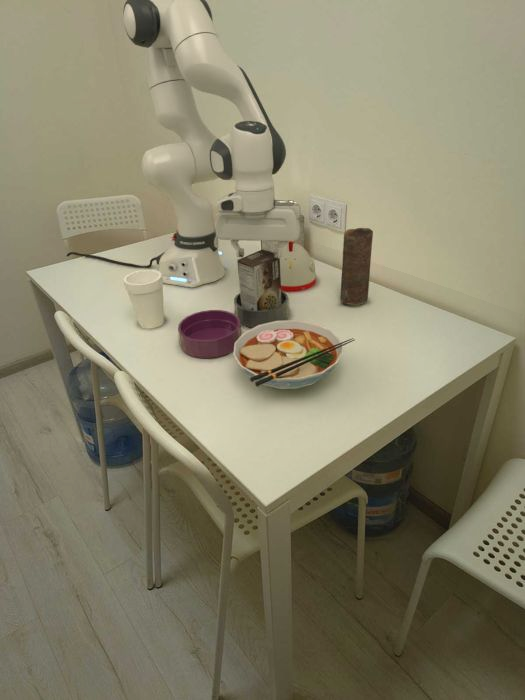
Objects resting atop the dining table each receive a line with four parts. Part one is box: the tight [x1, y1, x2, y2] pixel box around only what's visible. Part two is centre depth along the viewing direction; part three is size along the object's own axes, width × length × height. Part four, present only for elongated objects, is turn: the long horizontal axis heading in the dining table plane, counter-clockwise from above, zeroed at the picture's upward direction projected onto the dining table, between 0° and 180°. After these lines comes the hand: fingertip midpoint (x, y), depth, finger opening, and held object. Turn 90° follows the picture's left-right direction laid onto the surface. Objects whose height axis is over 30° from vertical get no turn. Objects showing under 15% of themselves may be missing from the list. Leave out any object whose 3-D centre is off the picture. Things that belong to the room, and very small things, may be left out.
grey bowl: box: [233, 290, 290, 329], centre depth 125 cm, size 14×14×5 cm
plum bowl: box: [177, 309, 243, 359], centre depth 115 cm, size 15×15×5 cm
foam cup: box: [122, 269, 165, 330], centre depth 123 cm, size 10×9×13 cm
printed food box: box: [237, 248, 282, 311], centre depth 122 cm, size 9×6×16 cm
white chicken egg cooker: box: [280, 241, 317, 293], centre depth 139 cm, size 14×14×15 cm
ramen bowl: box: [232, 319, 356, 390], centre depth 101 cm, size 25×23×8 cm
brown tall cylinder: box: [339, 227, 374, 306], centre depth 125 cm, size 8×7×20 cm
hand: (259, 257), depth 117 cm, fingers open, 8 cm apart
